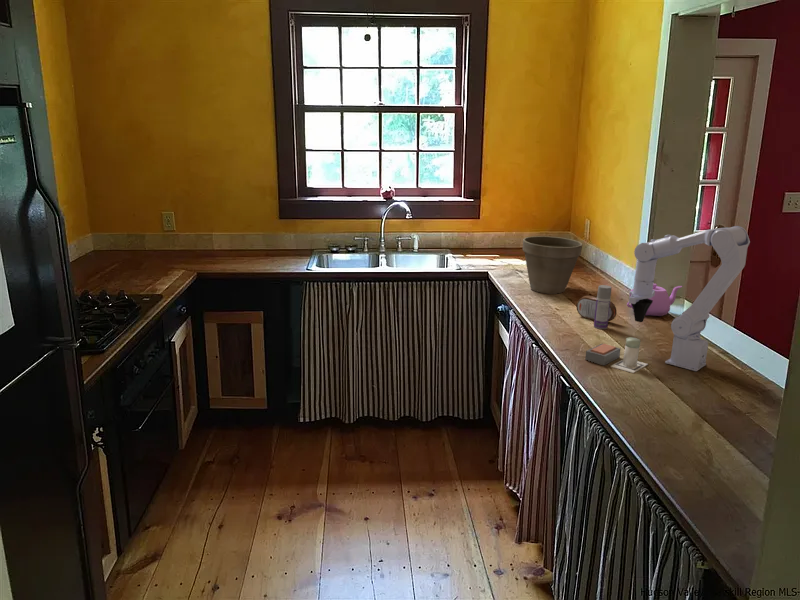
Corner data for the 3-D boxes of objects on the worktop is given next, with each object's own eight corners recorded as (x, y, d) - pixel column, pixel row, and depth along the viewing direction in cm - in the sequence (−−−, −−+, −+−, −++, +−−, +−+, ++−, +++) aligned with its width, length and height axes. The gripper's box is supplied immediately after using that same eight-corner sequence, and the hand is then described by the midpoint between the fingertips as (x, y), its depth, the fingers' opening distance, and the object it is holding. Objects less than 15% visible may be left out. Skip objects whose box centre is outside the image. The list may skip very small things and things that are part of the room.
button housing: (619, 357, 201) (620, 348, 200) (603, 365, 193) (605, 356, 193) (601, 352, 205) (602, 343, 204) (585, 360, 198) (586, 350, 197)
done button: (615, 352, 200) (615, 346, 200) (602, 358, 195) (603, 352, 194) (603, 349, 203) (603, 343, 202) (590, 355, 197) (591, 349, 197)
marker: (636, 363, 195) (640, 338, 193) (636, 368, 191) (640, 342, 189) (623, 361, 196) (626, 336, 194) (622, 365, 193) (625, 340, 190)
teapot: (631, 317, 243) (635, 287, 240) (620, 307, 256) (624, 278, 253) (685, 319, 243) (689, 288, 239) (671, 309, 255) (675, 280, 252)
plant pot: (589, 292, 277) (595, 243, 271) (550, 300, 264) (554, 248, 258) (546, 280, 297) (550, 234, 291) (507, 287, 283) (510, 238, 277)
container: (596, 324, 233) (601, 284, 229) (609, 327, 231) (614, 286, 227) (591, 327, 230) (595, 286, 226) (604, 330, 227) (608, 289, 223)
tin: (615, 323, 235) (618, 301, 233) (611, 325, 233) (614, 302, 231) (578, 314, 245) (580, 293, 243) (574, 316, 243) (576, 294, 241)
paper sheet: (647, 364, 195) (647, 363, 195) (633, 373, 188) (633, 372, 188) (625, 358, 200) (626, 357, 199) (610, 366, 193) (610, 365, 193)
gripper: (641, 274, 210) (636, 314, 214) (621, 281, 200) (616, 323, 204) (663, 278, 205) (657, 318, 209) (643, 285, 195) (638, 328, 199)
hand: (638, 321), depth 206 cm, fingers closed
